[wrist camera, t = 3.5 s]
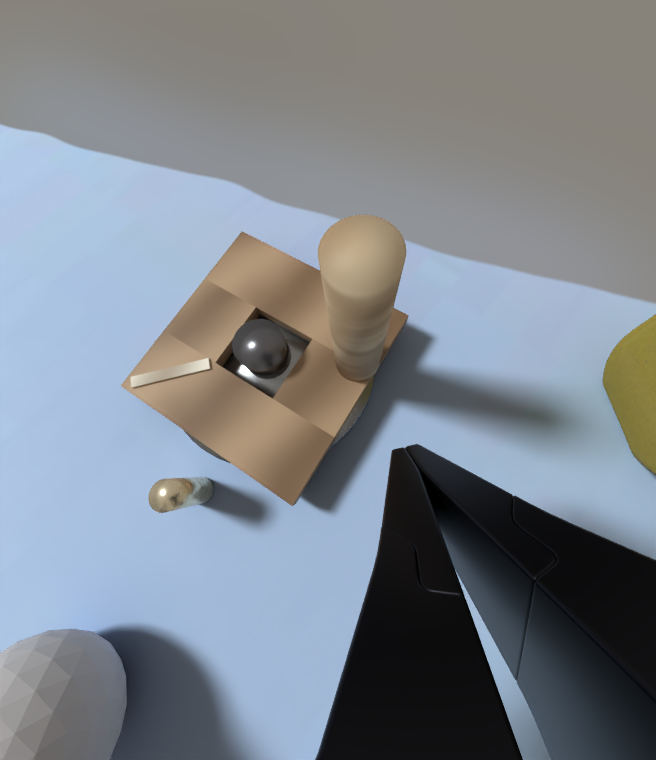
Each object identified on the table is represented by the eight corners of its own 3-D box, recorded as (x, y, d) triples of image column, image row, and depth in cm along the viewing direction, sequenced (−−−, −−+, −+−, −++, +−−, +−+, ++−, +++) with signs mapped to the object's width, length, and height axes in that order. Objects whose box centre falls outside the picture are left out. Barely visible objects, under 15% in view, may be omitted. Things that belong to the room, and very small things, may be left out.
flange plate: (407, 323, 20) (464, 169, 10) (297, 504, 18) (217, 556, 7) (246, 241, 23) (157, 50, 13) (131, 389, 21) (-100, 307, 10)
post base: (413, 327, 22) (426, 297, 18) (272, 561, 18) (251, 586, 15) (250, 244, 24) (230, 202, 21) (103, 434, 21) (48, 426, 17)
